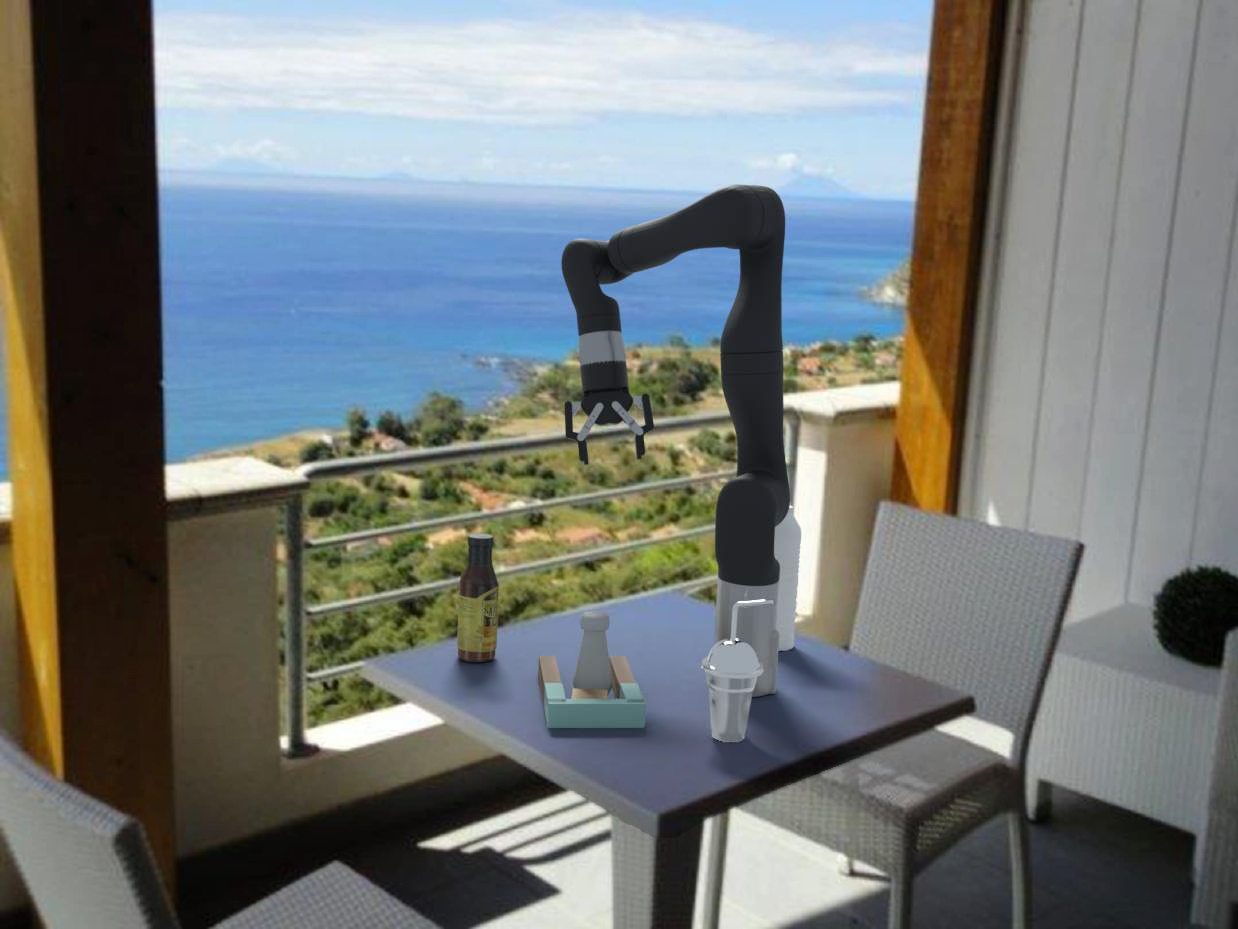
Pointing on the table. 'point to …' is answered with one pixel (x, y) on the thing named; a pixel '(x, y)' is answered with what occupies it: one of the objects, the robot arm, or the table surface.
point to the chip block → (589, 694)
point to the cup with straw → (732, 681)
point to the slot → (617, 665)
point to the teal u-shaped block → (594, 709)
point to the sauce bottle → (478, 603)
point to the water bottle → (787, 577)
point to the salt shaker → (593, 654)
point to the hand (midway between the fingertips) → (612, 462)
